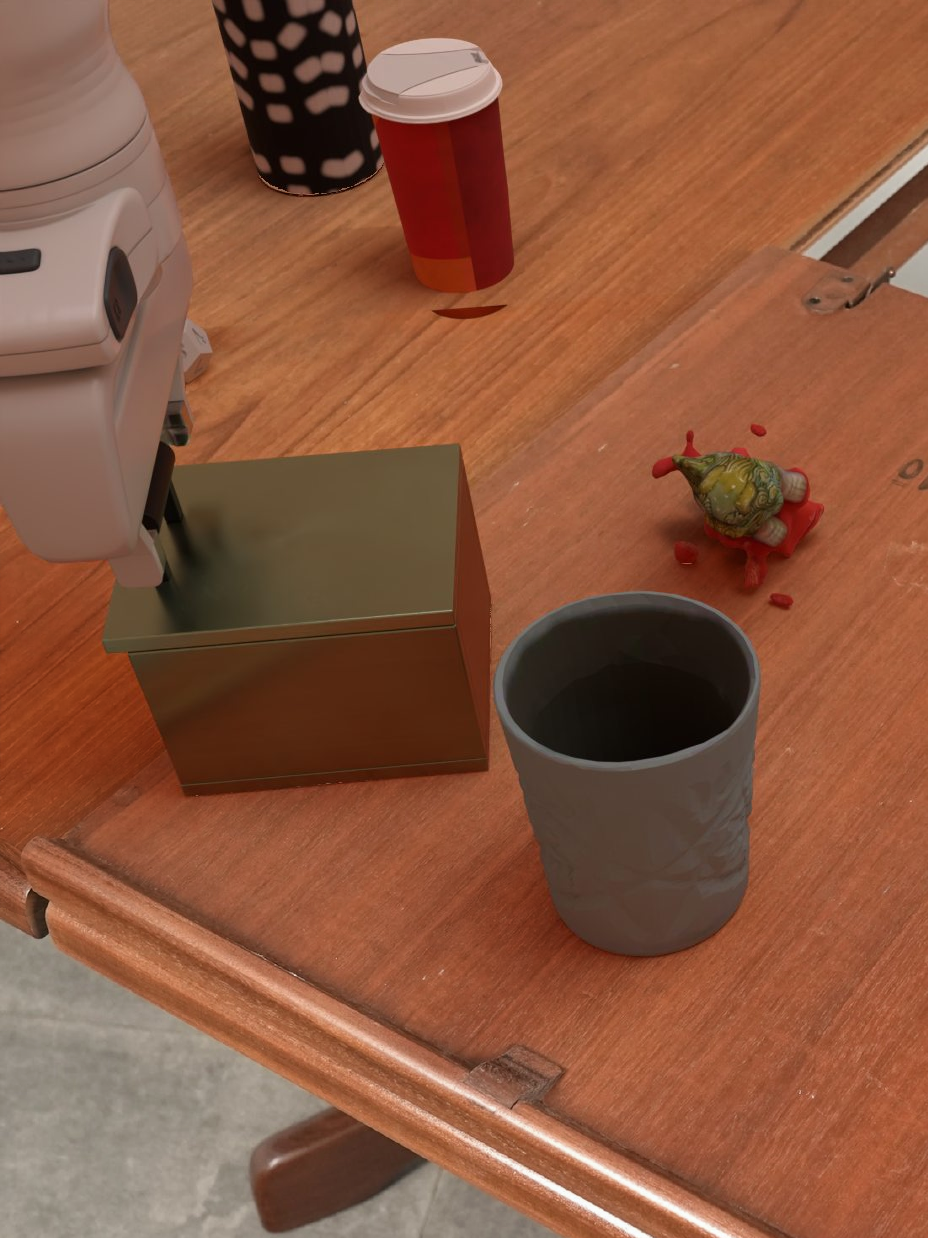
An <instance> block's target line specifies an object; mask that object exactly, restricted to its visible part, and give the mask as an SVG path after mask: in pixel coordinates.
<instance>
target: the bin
mask: <svg viewBox="0 0 928 1238" xmlns="http://www.w3.org/2000/svg"><path fill="white" fill-rule="evenodd" d="M465 466H466V465H465V461H464V459H463V460H462V485H461V509H460V534H459V558H458V582H457V607H456V624H454V625H442V626H431V627H419V628H407V629H395V630H383V631H372V632H360V633H348V634H336V635H324V636H313V637H301V638H289V639H277V640H265V641H254V642H242V643H230V644H218V645H206V646H195V647H183V648H171V649H159V650H147V651H136V652H126V655H127V658H128V659H129V662H130V664H131V667H132V669H133V673H134V674H135V676H136V679H137V682H138V683H139V687H140V688H141V689H140V690H141V691H142V693H143V696H144V699H145V701H146V703H147V707H148V708H149V711H150V713H151V715H152V718H153V720H154V723H155V725H156V728H157V730H158V733H159V735H160V737H161V739H162V742H163V744H164V747H165V749H166V751H167V752H166V753H167V754H168V757H169V759H170V762H171V764H172V766H173V769H174V772H175V774H176V777H177V779H178V782H179V783H180V787H181V790H182V792H183V794H184V797H185V796H193V797H203V795H204V796H214V794H215V795H225V793H227V794H236V793H247V792H248V791H249V792H258V791H257V790H260V791H270V790H269V789H271V790H281V788H283V789H290V788H289V787H294V788H298V787H297V786H301V787H300V788H305V787H313V786H314V785H316V786H319V785H318V784H321V785H320V786H323V785H322V784H326V783H331V784H330V785H336V784H335V783H337V785H338V784H340V783H339V782H342V783H341V784H347V783H359V782H371V781H370V780H372V781H380V779H383V780H392V779H405V778H416V777H427V776H438V775H449V774H461V773H472V772H481V771H483V772H484V771H489V767H490V765H489V764H490V726H491V725H490V723H491V721H490V720H491V681H490V627H491V626H490V625H491V624H490V618H491V615H490V614H491V613H490V612H491V611H490V610H491V609H490V608H491V599H492V593H491V589H490V584H489V580H488V579H489V578H488V575H487V569H486V564H485V560H484V555H483V550H482V545H481V539H480V536H479V530H478V525H477V520H476V516H475V515H476V514H475V510H474V505H473V500H472V495H471V491H470V485H469V481H468V476H467V471H466V467H465ZM366 780H368V781H366ZM314 787H315V786H314ZM277 788H278V789H277ZM231 792H233V793H231ZM196 795H198V796H196Z"/></svg>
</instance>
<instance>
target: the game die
mask: <svg viewBox="0 0 928 1238" xmlns="http://www.w3.org/2000/svg"><path fill="white" fill-rule="evenodd" d="M181 352H182V361H183V370H184V379H185V383H188V384H189V383H191V382H192V381H194V380H195V379H196V378H197V377H199V376H200V375H202V374H203V373H204V372H206V371H207V368H208V365H209V363H210V361H211V358H212V355H213V352H214V351H213V348H212V346H211V343H210V340H209V338H208V335H207V332H206V330H205V329H203V328H201V326H199V325H198V324H197V323H195V322H194V321H193V320H192V319H190V318H187V317H186V322H185V327H184V331H183V336H182V340H181Z"/></svg>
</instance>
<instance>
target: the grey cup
mask: <svg viewBox="0 0 928 1238" xmlns="http://www.w3.org/2000/svg"><path fill="white" fill-rule="evenodd" d="M492 680H493V681H492V695H493V704H494V707H495V710H496V713H497V716H498V720H499V723H500V725H501V729H502V732H503V735H504V738H505V741H506V745H507V748H508V750H509V754H510V759H511V761H512V764H513V767H514V770H515V771H516V772H517V774H518V778H517V780H518V784H519V787H520V789H521V792H522V795H523V796H522V798H523V802H524V805H525V808H526V812H527V816H528V820H529V823H530V825H531V827H532V833H533V837H534V839H535V842H537V843H539V847H540V848H539V849H540V850H539V857H540V861H541V865H542V868H543V872H544V876H545V881H546V883H547V888H548V892H549V895H550V898H551V901H552V904H553V906H554V909H555V910H556V913H557V914H558V916H559V917H560V918H561V920H562V921H563V923H564V924H565V926H566V927H567V928H568V929H569V930H570V931H571V932H572V933H573V934H574V935H575V936H576V937H577V938H578V939H579V938H580V940H582V941H584V942H586V943H587V944H589V945H590V946H593V947H594V948H596V949H599V950H602V951H605V952H609V953H612V954H616V955H622V956H627V957H657V956H662V955H668V954H672V953H675V952H681V951H683V950H685V949H688V948H691V947H694V946H696V945H698V944H699V943H701V942H703V941H706V939H709V938H710V937H711V936H713V935H714V934H716V933H717V932H718V931H720V929H722V928H723V927H724V926H725V925H726V924H727V922H729V920H730V919H731V918H732V917H733V915H735V913H736V912H737V909H738V908H739V906H740V904H741V902H742V901H743V897H744V896H745V893H746V890H747V886H748V882H749V881H748V880H749V872H750V852H751V851H750V849H751V847H750V836H751V835H750V834H751V827H750V824H749V822H748V819H749V817H750V816H751V814H752V812H753V796H754V795H753V794H754V784H753V783H754V769H755V768H754V767H755V766H754V765H753V764H754V762H755V759H756V757H755V756H756V748H755V746H756V745H755V744H756V739H757V730H758V728H757V727H758V718H759V707H760V696H761V685H762V671H761V664H760V660H759V657H758V654H757V651H756V650H755V648H754V645H753V643H752V641H751V640H750V639H749V637H748V636H747V634H746V633H745V632H744V631H743V629H742V628H741V627H740V626H739V625H738V624H736V623H735V622H734V621H733V620H732V619H731V618H729V617H728V616H727V615H725V613H723V612H722V611H720V610H718V609H716V608H714V607H713V606H711V605H708V604H706V603H704V602H702V601H699V600H696V599H693V598H690V597H686V596H683V595H679V594H676V593H668V592H661V591H653V590H628V591H620V592H613V593H605V594H597V595H592V596H589V597H585V598H582V599H579V600H578V599H577V600H576V601H571V602H567V603H566V604H564V605H562V606H559V607H557V608H555V609H553V610H551V611H548V612H547V613H545V614H543V615H542V616H540V617H539V618H537V619H536V620H534V621H532V622H531V623H530V624H529V625H528V626H526V627H525V628H524V629H523V630H521V631H520V632H519V633H518V635H516V636H515V637H514V638H513V640H512V641H511V642H510V643H509V644H508V646H507V647H506V648H505V650H504V651H503V653H502V655H501V657H500V659H499V661H498V663H497V666H496V668H495V672H494V676H493V679H492Z"/></svg>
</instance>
